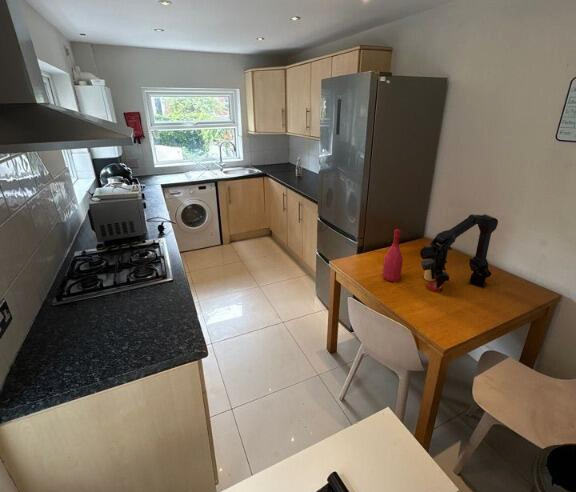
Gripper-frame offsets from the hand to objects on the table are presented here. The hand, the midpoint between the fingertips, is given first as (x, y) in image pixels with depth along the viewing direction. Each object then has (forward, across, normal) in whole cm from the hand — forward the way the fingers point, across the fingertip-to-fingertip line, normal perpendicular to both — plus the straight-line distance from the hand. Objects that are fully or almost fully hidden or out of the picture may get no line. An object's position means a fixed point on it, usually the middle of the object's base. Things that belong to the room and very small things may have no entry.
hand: (435, 283), depth 162 cm
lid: (+2, 0, 0) cm, 2 cm away
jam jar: (+3, -10, 0) cm, 11 cm away
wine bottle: (+3, -7, -22) cm, 23 cm away
